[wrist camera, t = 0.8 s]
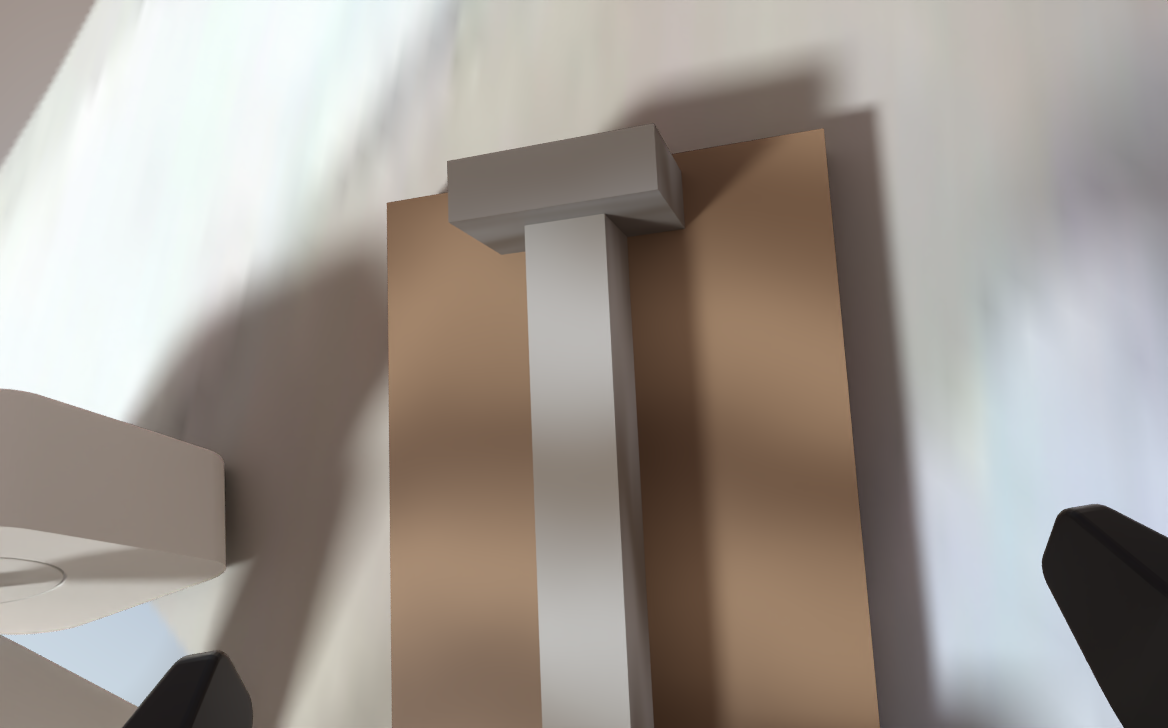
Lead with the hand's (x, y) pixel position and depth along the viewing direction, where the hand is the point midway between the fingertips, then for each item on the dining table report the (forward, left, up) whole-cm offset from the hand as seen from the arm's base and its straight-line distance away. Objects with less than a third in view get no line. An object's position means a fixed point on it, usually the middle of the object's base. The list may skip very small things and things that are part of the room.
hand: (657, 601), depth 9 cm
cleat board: (+1, +4, -12) cm, 13 cm away
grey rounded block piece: (-3, +19, -12) cm, 23 cm away
